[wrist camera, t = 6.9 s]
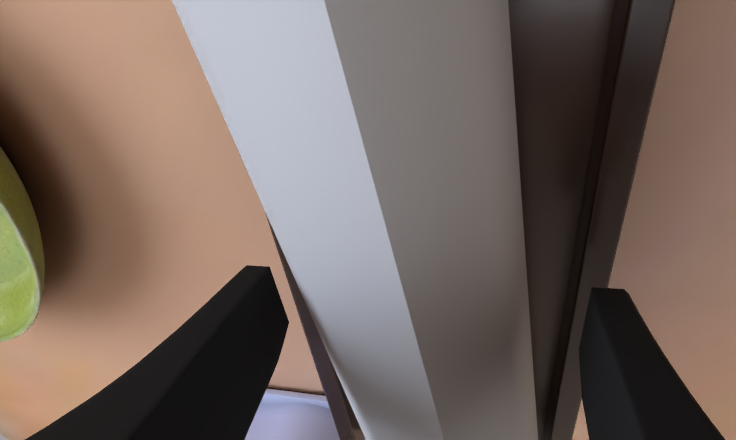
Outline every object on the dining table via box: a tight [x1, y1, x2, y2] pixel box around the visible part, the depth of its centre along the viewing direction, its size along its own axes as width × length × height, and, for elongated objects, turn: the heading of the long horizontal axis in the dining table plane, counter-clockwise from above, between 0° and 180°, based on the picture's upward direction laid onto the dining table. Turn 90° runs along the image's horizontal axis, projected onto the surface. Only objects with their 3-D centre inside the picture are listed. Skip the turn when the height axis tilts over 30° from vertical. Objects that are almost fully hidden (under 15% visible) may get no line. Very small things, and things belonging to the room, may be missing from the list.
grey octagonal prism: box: [172, 0, 538, 440], centre depth 12 cm, size 5×5×25 cm
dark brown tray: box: [265, 0, 676, 440], centre depth 15 cm, size 9×24×5 cm, turn 8°
